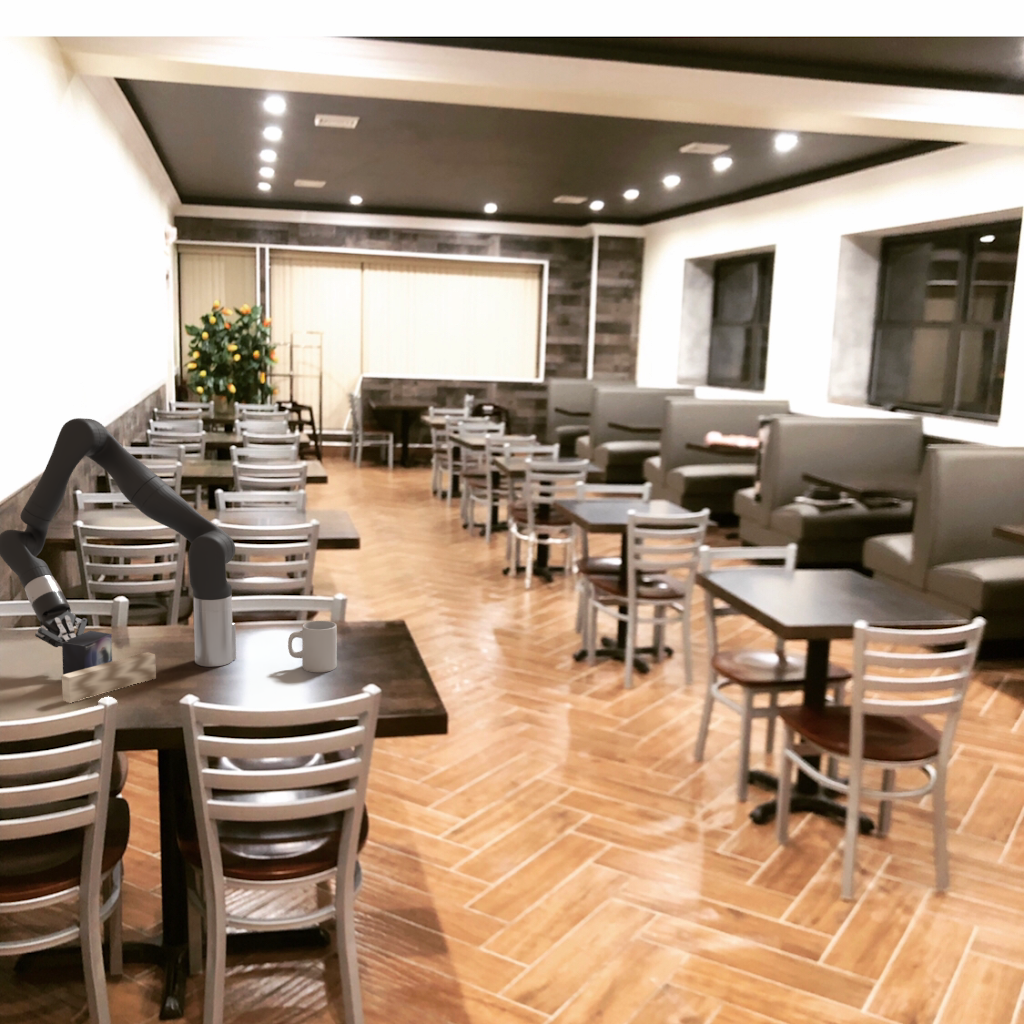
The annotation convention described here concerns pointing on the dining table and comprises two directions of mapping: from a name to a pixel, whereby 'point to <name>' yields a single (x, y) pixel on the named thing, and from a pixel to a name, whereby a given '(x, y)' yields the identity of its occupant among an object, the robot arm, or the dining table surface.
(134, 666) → the maple board
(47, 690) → the dining table surface
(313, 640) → the mug
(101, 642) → the small box
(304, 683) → the dining table surface
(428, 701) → the dining table surface
